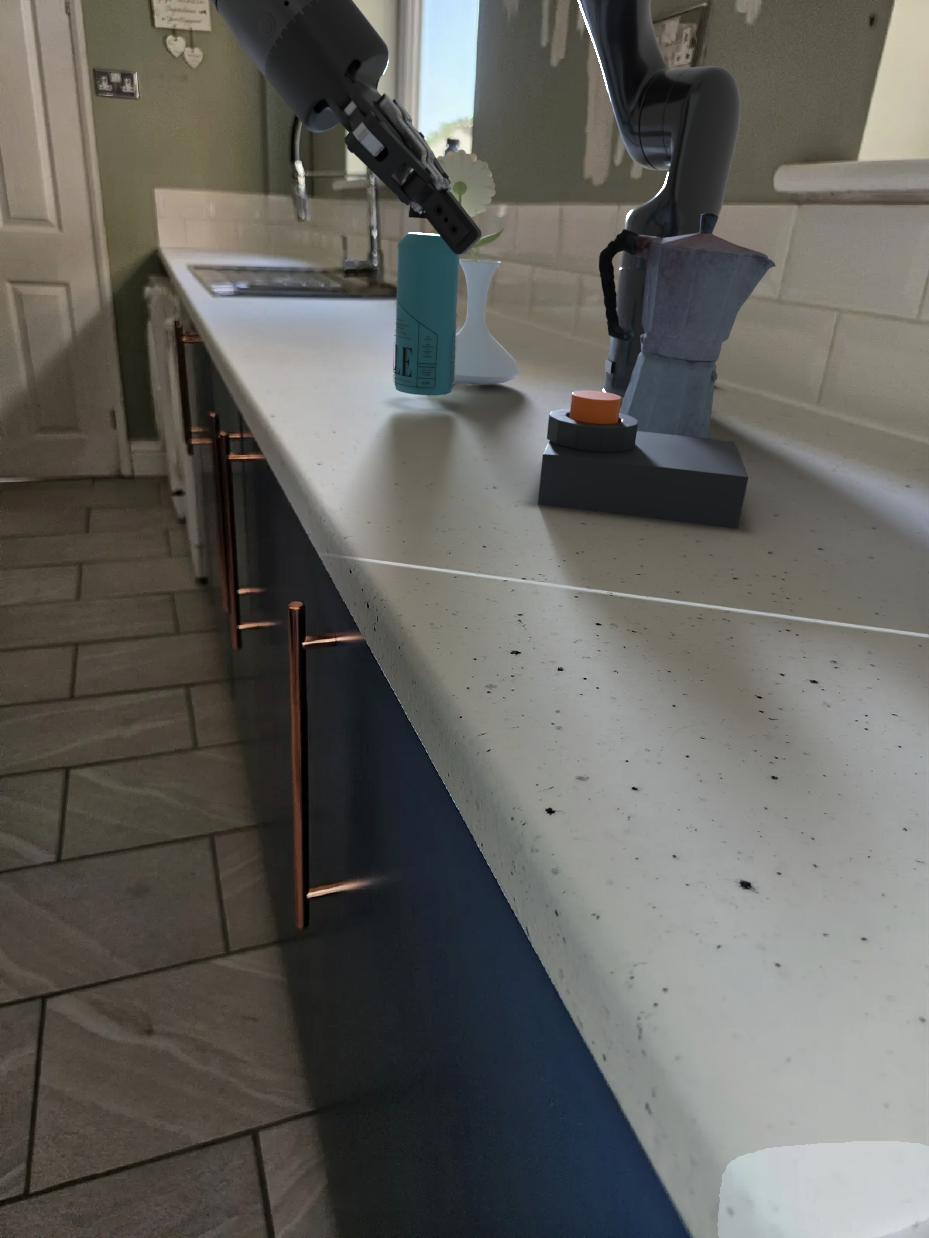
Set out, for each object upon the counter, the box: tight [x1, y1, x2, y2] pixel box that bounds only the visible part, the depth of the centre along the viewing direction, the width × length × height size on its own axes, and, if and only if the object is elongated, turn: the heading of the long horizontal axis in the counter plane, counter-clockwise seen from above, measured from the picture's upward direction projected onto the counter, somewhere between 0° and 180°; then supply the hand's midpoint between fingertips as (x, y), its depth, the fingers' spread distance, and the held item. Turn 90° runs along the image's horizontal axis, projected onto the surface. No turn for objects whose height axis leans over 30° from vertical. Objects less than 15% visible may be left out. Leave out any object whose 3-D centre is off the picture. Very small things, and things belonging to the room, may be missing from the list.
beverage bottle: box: [392, 204, 460, 397], centre depth 88 cm, size 6×7×20 cm
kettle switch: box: [569, 390, 621, 424], centre depth 64 cm, size 4×4×2 cm
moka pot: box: [598, 213, 776, 439], centre depth 80 cm, size 10×15×20 cm, turn 78°
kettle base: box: [537, 407, 749, 529], centre depth 65 cm, size 14×11×6 cm
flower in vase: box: [428, 149, 520, 386], centre depth 101 cm, size 13×11×25 cm
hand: (470, 246), depth 61 cm, fingers closed
